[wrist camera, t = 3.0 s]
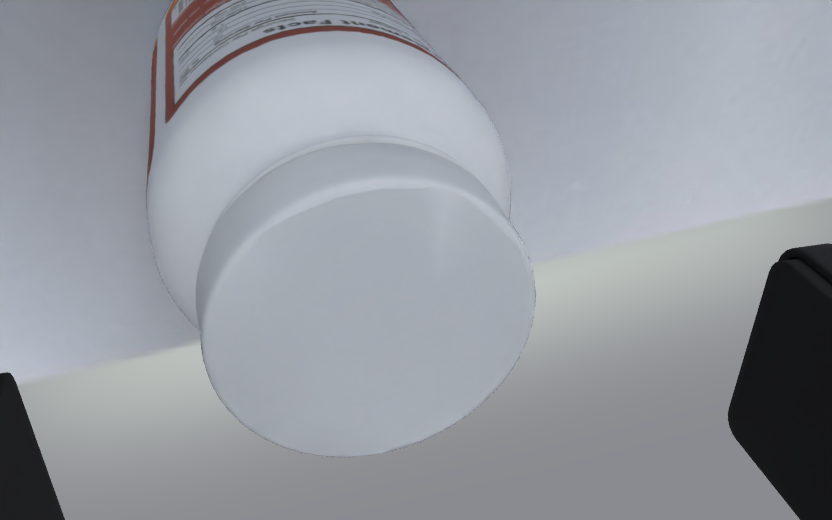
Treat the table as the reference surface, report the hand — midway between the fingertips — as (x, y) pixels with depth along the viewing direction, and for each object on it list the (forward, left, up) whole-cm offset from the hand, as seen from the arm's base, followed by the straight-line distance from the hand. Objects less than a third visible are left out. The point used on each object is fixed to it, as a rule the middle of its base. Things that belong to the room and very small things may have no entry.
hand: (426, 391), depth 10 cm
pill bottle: (0, 0, -13) cm, 13 cm away
